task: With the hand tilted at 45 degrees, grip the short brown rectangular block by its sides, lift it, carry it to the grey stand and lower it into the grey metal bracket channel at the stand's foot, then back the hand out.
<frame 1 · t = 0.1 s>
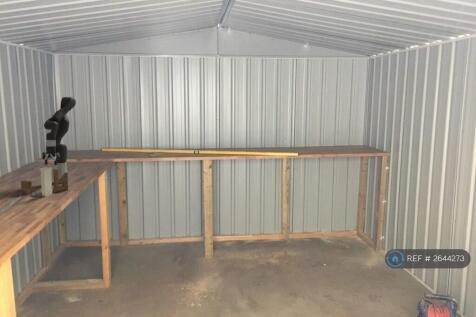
hand: (50, 165, 346), 17 cm above the table, tool pointing down, fingers open, 8 cm apart
brown rectangular block: (26, 193, 321), on the table
wooden block: (60, 191, 332), on the table
grey stand: (41, 194, 318), on the table
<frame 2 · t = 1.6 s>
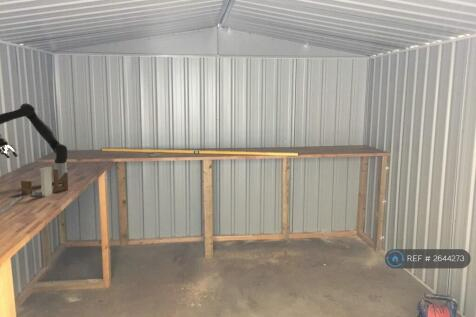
hand: (13, 157, 318), 28 cm above the table, tool tilted 45°, fingers open, 8 cm apart
nothing on the table moved.
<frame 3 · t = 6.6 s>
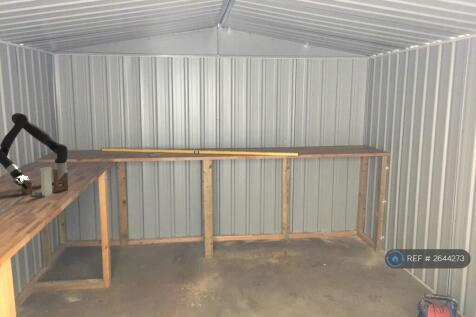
hand: (28, 187, 319), 5 cm above the table, tool tilted 45°, fingers closed on brown rectangular block, 4 cm apart
brown rectangular block: (26, 193, 321), on the table, touching gripper
everything else where it was.
when the fingers open (6 cm above the table, at t = 12.5 s): brown rectangular block stays where it is, resting on grey stand.
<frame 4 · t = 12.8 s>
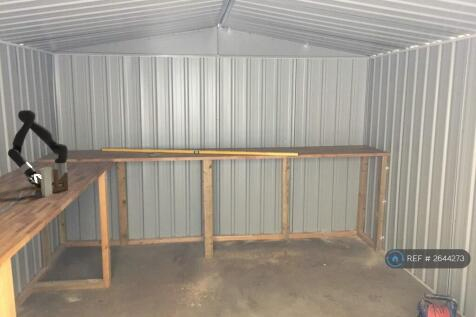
hand: (42, 186, 317), 7 cm above the table, tool tilted 45°, fingers open, 6 cm apart
brown rectangular block: (41, 193, 318), point 1 cm above the table, touching grey stand
everything else where it was.
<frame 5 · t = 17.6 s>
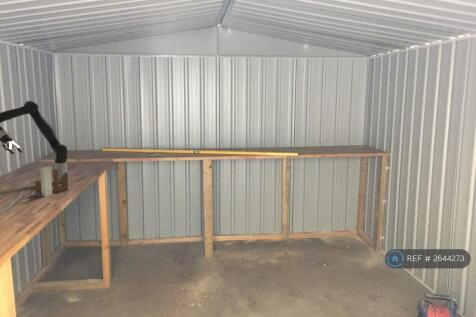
hand: (17, 152, 320), 31 cm above the table, tool tilted 45°, fingers open, 8 cm apart
nothing on the table moved.
at the end: brown rectangular block 0.1 cm off-centre on the grey stand, point 0.8 cm above the grey stand's base; brown rectangular block tilted 0°; the gripper is holding nothing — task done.
